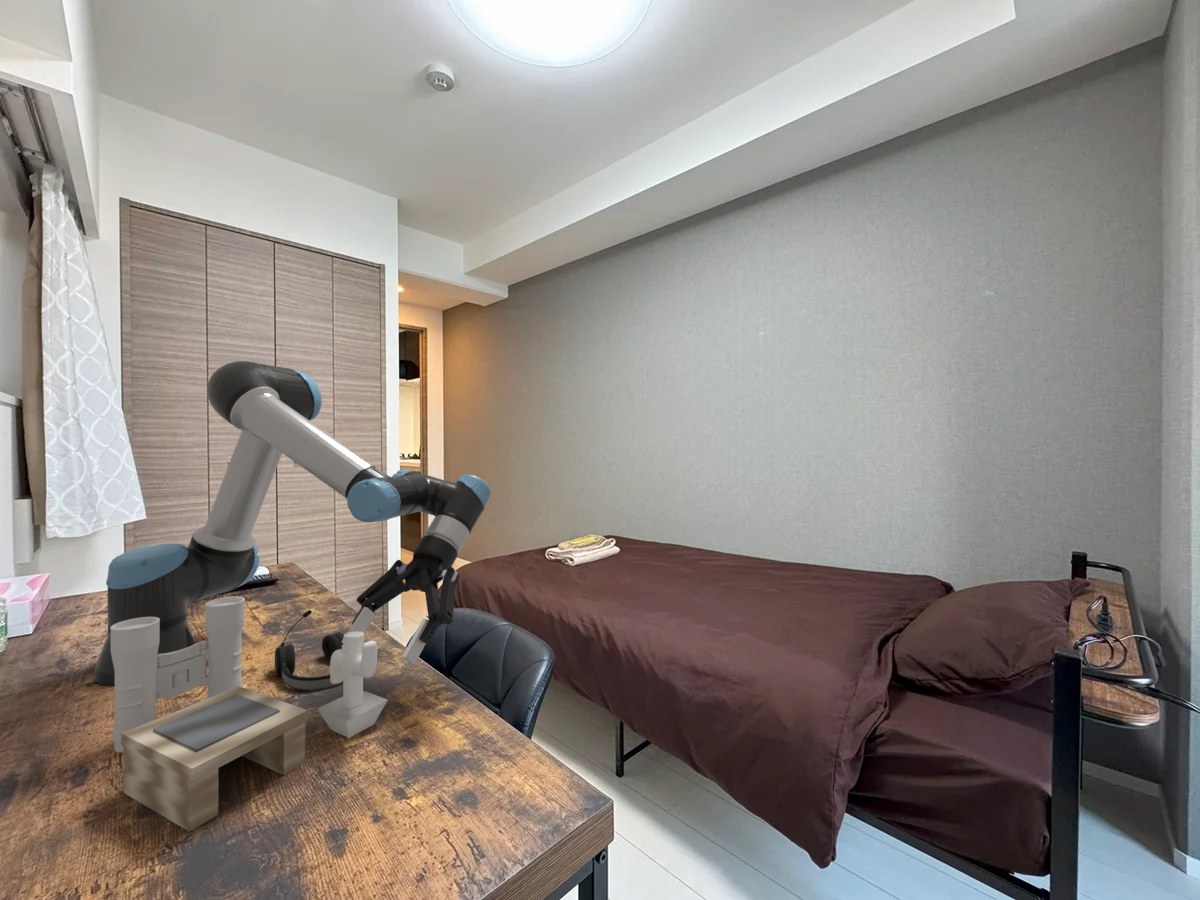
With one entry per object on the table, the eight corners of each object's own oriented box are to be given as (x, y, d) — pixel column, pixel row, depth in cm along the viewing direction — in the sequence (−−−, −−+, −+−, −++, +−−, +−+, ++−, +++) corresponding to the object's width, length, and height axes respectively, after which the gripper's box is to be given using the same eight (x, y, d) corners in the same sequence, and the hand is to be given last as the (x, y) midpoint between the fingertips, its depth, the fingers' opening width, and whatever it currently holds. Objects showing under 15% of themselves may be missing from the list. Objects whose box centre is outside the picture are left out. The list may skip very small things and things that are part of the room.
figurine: (354, 708, 85) (355, 620, 84) (392, 724, 80) (392, 631, 80) (312, 729, 78) (313, 634, 78) (350, 748, 74) (351, 647, 74)
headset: (335, 603, 110) (371, 637, 97) (333, 644, 110) (369, 682, 97) (265, 618, 100) (296, 657, 87) (264, 662, 101) (293, 707, 88)
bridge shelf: (121, 791, 64) (121, 731, 64) (238, 734, 77) (238, 684, 77) (191, 833, 57) (192, 766, 57) (307, 763, 70) (307, 708, 70)
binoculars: (234, 695, 89) (234, 594, 88) (251, 703, 86) (251, 599, 86) (103, 747, 73) (103, 625, 73) (119, 758, 71) (119, 632, 71)
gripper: (503, 562, 93) (447, 677, 79) (402, 550, 103) (338, 649, 90) (485, 539, 88) (423, 657, 74) (381, 528, 98) (310, 630, 85)
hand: (376, 653), depth 82 cm, fingers open, 13 cm apart
